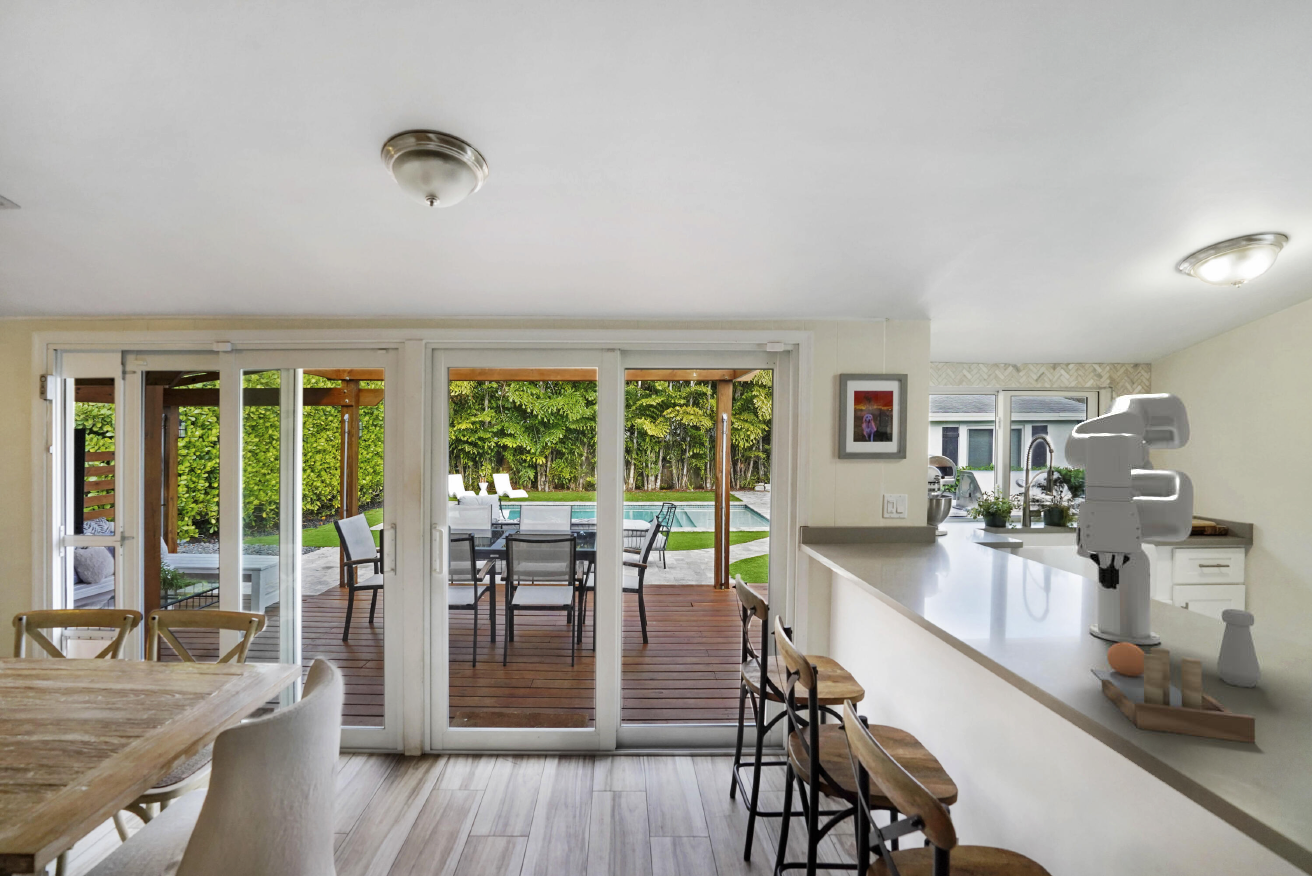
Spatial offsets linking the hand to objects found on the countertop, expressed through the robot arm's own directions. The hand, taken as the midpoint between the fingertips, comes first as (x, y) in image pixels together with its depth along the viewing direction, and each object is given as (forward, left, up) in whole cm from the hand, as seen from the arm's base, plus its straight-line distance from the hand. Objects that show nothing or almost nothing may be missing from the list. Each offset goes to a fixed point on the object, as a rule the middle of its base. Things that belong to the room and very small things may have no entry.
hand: (1108, 587), depth 125 cm
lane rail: (+27, 0, -14) cm, 30 cm away
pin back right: (+27, -2, -14) cm, 31 cm away
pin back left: (+27, +3, -14) cm, 31 cm away
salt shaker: (+7, +18, -15) cm, 24 cm away
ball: (+9, 0, -11) cm, 14 cm away
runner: (+21, 0, -14) cm, 25 cm away
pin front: (+23, 0, -14) cm, 27 cm away
